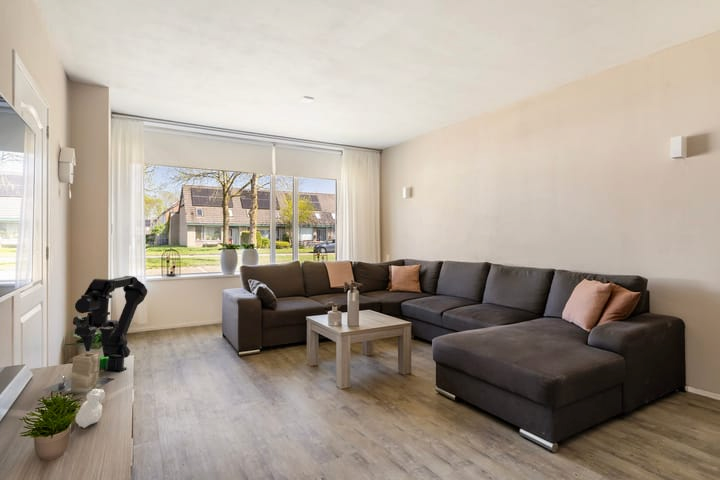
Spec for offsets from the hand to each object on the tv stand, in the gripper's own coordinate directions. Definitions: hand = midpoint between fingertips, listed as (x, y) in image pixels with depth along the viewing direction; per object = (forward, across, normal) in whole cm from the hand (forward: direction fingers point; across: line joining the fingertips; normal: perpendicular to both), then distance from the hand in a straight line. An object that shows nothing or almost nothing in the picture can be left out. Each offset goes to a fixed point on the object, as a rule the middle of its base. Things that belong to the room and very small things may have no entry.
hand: (95, 348), depth 160 cm
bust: (+14, +34, +23) cm, 43 cm away
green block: (+13, -17, -9) cm, 23 cm away
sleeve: (+12, +11, +4) cm, 16 cm away
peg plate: (+13, +7, 0) cm, 15 cm away
